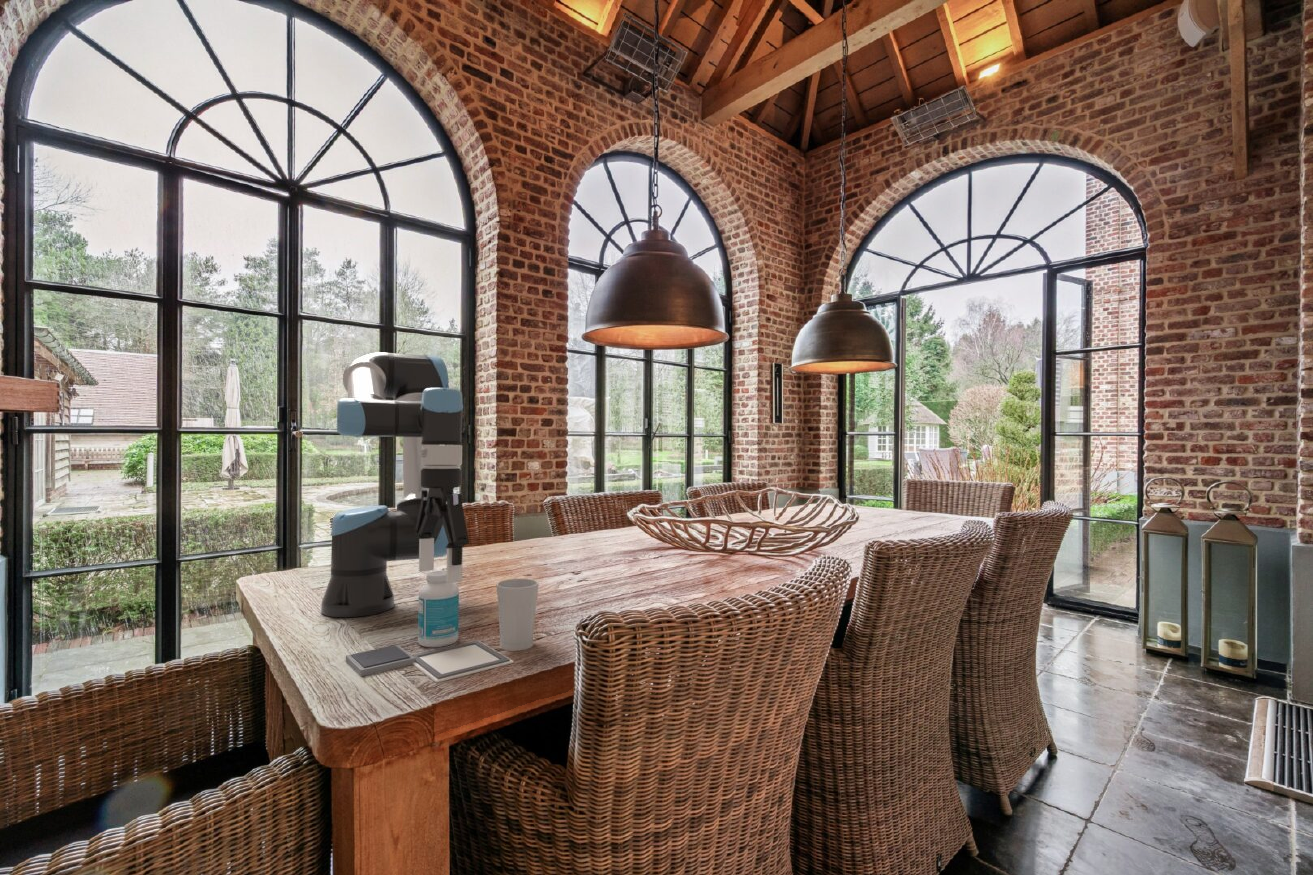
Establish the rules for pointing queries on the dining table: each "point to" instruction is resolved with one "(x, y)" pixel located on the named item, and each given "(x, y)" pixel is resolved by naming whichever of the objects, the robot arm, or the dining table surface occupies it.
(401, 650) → the ink pad
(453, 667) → the sheet
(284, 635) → the dining table surface
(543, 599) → the dining table surface
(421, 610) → the pill bottle
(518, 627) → the cup
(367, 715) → the dining table surface
